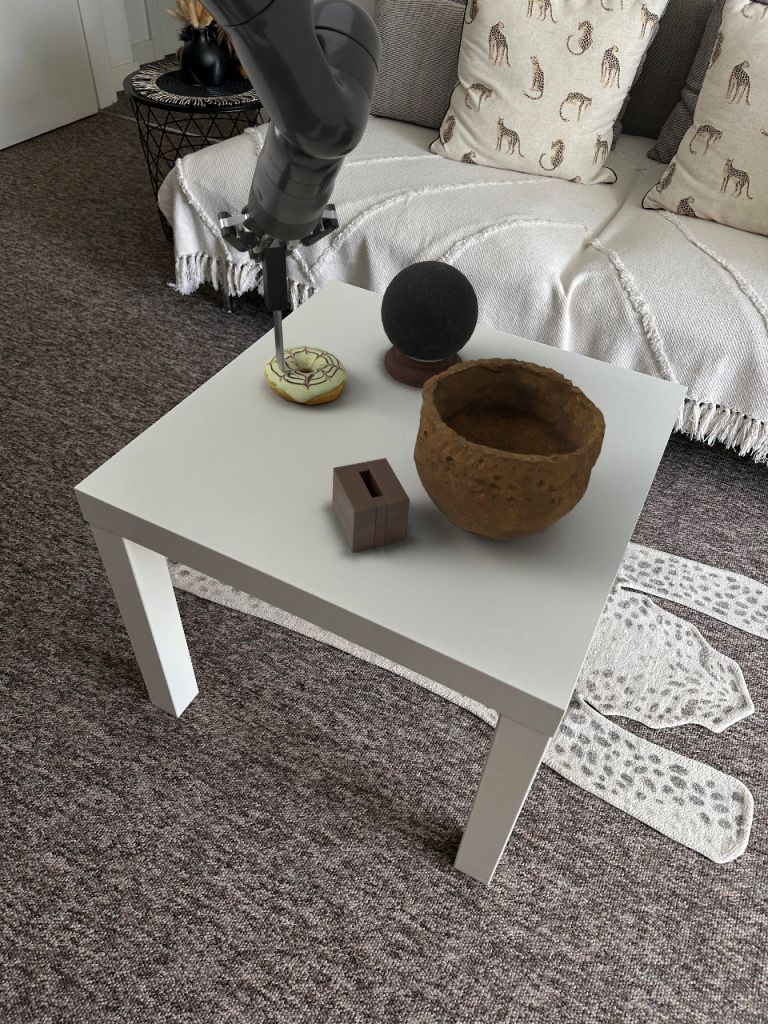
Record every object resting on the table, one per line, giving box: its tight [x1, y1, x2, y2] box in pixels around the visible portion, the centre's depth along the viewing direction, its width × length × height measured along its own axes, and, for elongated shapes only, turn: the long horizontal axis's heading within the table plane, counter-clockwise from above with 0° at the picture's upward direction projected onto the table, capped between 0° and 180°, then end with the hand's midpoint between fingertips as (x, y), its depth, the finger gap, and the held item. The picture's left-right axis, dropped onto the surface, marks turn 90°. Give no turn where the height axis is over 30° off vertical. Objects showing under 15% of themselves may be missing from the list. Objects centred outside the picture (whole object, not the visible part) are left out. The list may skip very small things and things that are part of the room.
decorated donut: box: [263, 346, 348, 406], centre depth 94 cm, size 10×11×4 cm
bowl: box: [413, 357, 607, 540], centre depth 75 cm, size 19×19×15 cm
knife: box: [261, 240, 290, 372], centre depth 87 cm, size 2×3×16 cm
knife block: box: [331, 457, 411, 553], centre depth 75 cm, size 6×7×6 cm
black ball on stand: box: [380, 260, 479, 389], centre depth 96 cm, size 13×13×15 cm
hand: (268, 253), depth 86 cm, fingers closed on knife, 2 cm apart
